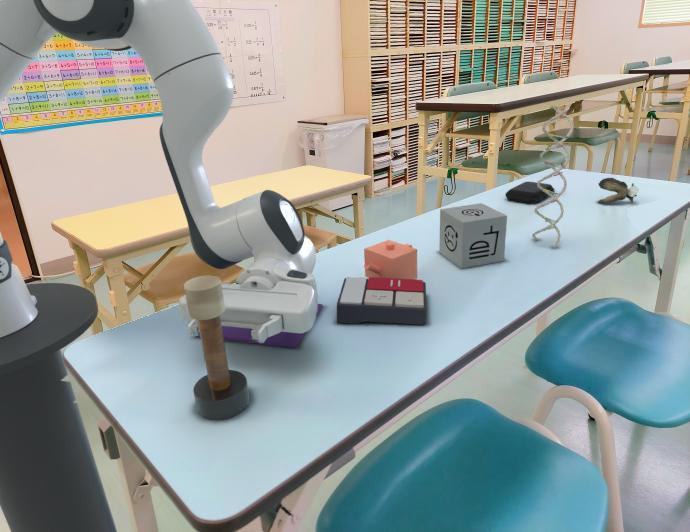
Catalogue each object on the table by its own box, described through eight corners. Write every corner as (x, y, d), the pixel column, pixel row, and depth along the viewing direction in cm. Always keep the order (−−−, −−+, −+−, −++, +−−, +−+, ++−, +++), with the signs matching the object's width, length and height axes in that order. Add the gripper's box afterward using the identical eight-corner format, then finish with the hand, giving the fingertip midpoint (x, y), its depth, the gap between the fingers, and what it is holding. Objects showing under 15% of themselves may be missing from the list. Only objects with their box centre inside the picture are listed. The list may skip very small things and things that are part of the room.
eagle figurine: (626, 192, 146) (594, 187, 147) (639, 175, 140) (606, 170, 141) (629, 213, 142) (596, 208, 143) (643, 196, 136) (609, 191, 137)
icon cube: (503, 260, 110) (507, 215, 106) (461, 268, 107) (463, 222, 103) (479, 245, 118) (481, 203, 114) (439, 252, 116) (440, 209, 112)
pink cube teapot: (353, 286, 102) (351, 247, 99) (396, 268, 109) (395, 231, 106) (380, 299, 96) (379, 257, 93) (424, 279, 103) (424, 240, 100)
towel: (195, 337, 87) (194, 334, 87) (232, 299, 99) (232, 296, 99) (296, 347, 82) (295, 344, 82) (322, 307, 95) (322, 304, 94)
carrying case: (538, 206, 143) (559, 194, 153) (539, 195, 142) (560, 183, 152) (502, 200, 150) (524, 189, 160) (503, 190, 148) (525, 179, 158)
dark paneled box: (427, 305, 85) (336, 300, 87) (425, 328, 87) (336, 322, 88) (425, 277, 95) (344, 273, 97) (424, 298, 97) (344, 294, 98)
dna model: (567, 246, 115) (584, 105, 104) (543, 250, 114) (558, 108, 102) (547, 236, 121) (561, 103, 110) (524, 241, 119) (536, 105, 108)
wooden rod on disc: (186, 416, 68) (160, 293, 61) (212, 384, 74) (191, 269, 67) (235, 423, 66) (214, 297, 59) (257, 390, 72) (241, 272, 65)
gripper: (202, 267, 83) (151, 307, 71) (324, 275, 78) (292, 320, 66) (208, 302, 85) (160, 347, 73) (327, 312, 80) (296, 362, 68)
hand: (223, 334), depth 69 cm, fingers open, 8 cm apart
